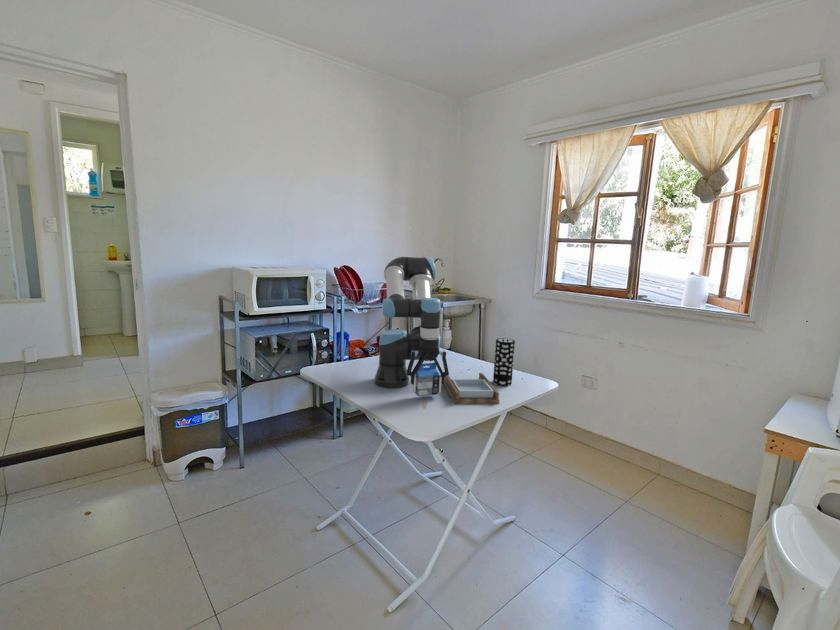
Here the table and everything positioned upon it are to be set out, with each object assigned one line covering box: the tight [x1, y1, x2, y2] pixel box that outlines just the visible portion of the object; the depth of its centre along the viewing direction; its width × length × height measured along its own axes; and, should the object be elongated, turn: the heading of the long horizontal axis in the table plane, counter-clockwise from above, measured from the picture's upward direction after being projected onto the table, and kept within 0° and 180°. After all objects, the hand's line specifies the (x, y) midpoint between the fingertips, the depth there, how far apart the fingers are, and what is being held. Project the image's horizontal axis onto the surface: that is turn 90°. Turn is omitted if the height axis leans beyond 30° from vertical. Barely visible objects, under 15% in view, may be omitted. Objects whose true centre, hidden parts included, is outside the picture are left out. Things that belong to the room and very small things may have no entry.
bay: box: [443, 372, 500, 405], centre depth 172 cm, size 18×25×4 cm
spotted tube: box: [492, 337, 516, 387], centre depth 184 cm, size 8×8×20 cm
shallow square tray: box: [451, 378, 494, 398], centre depth 168 cm, size 14×14×3 cm
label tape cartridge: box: [414, 362, 441, 397], centre depth 163 cm, size 9×4×12 cm, turn 112°
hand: (426, 391), depth 164 cm, fingers closed on label tape cartridge, 9 cm apart
